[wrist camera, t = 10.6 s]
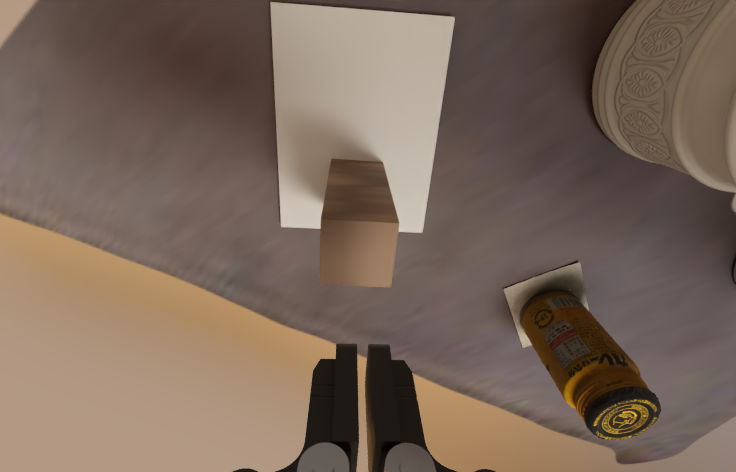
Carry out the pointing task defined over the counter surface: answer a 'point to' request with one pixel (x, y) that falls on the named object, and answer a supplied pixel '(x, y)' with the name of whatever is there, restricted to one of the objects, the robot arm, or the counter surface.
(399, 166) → the mat
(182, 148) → the counter surface
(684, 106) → the jar
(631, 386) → the condiment
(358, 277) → the block
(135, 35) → the counter surface
